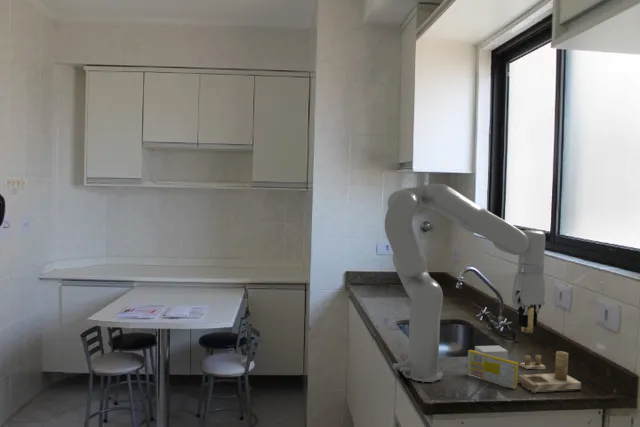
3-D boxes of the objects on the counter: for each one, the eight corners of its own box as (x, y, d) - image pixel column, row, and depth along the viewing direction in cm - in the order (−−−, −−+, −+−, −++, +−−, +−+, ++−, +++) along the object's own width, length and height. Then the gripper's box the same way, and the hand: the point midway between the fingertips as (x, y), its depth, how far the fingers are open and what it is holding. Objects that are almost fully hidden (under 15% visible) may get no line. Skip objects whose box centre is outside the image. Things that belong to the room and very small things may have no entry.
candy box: (517, 389, 155) (519, 362, 154) (514, 390, 153) (515, 363, 153) (469, 373, 166) (470, 348, 166) (465, 375, 165) (467, 350, 164)
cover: (482, 369, 170) (483, 351, 170) (474, 363, 176) (474, 346, 176) (507, 368, 172) (508, 351, 171) (497, 362, 178) (498, 345, 177)
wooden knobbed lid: (526, 370, 171) (527, 358, 171) (519, 365, 175) (520, 354, 174) (545, 369, 172) (546, 357, 172) (538, 365, 176) (538, 353, 176)
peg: (527, 333, 161) (529, 308, 160) (519, 330, 164) (520, 306, 163) (535, 332, 162) (536, 307, 162) (526, 329, 165) (527, 305, 165)
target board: (533, 393, 151) (534, 358, 151) (517, 382, 159) (519, 349, 159) (580, 390, 154) (582, 356, 154) (563, 380, 162) (565, 348, 162)
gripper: (538, 266, 169) (535, 320, 170) (502, 268, 161) (499, 325, 163) (558, 269, 162) (555, 326, 163) (521, 272, 155) (518, 331, 156)
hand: (527, 325), depth 163 cm, fingers closed on peg, 3 cm apart
